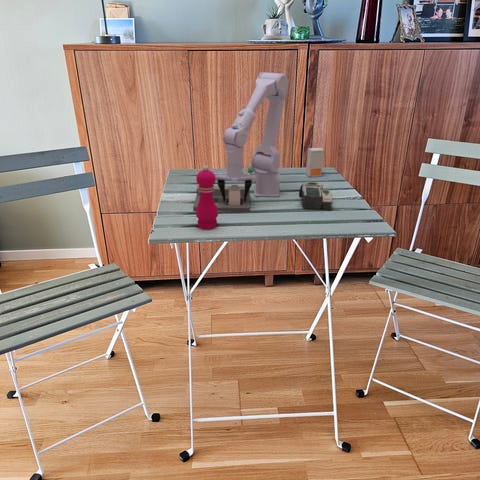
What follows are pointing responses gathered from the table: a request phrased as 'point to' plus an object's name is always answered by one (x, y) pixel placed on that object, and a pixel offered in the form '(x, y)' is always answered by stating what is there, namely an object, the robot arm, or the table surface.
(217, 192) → the socket panel
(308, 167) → the skincare box
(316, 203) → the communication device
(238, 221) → the table surface
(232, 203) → the plug
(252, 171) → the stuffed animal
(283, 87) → the robot arm
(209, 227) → the pepper mill
